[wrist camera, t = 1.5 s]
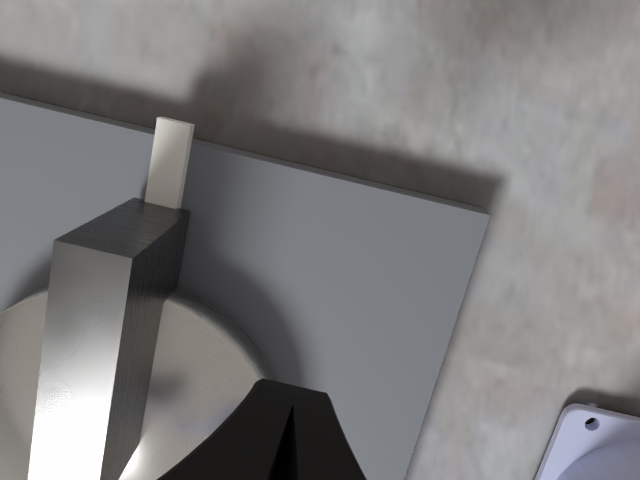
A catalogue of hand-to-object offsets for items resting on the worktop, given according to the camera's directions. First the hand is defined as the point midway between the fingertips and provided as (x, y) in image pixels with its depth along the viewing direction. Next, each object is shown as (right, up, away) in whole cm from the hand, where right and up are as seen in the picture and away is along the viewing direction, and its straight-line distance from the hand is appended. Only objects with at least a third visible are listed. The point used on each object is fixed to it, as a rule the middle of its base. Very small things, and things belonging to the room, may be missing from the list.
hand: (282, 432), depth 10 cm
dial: (-6, -2, +9) cm, 11 cm away
